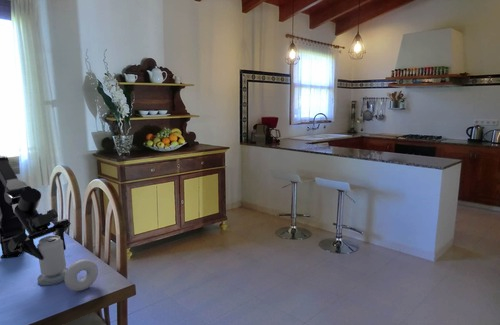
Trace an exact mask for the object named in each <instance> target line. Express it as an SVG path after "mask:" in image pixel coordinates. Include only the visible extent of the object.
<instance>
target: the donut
mask: <svg viewBox="0 0 500 325" xmlns="http://www.w3.org/2000/svg"><path fill="white" fill-rule="evenodd" d="M67 268H68V270H67V271H66V274H65V279H64V283H65V286H66V287H67V288H68V289H69V290H71V291H73V292H81V291H85V290H87V289H88V288H90V287H91V286H93V284H94V283H95V282H96V281H97V279H98V278H97V277H98V275H99V268H98V266H97V264H96V263H95V261H93V260H91V259H86V258H85V259H80V260H77V261H75V262H74V263H72V264H71V265H70V266H69V267H67ZM82 271H85V272H86V275H85V277H83V278H82V279H78V277H77V276H78V274H79V273H80V272H82Z"/></svg>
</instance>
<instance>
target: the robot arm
mask: <svg viewBox="0 0 500 325" xmlns="http://www.w3.org/2000/svg"><path fill="white" fill-rule="evenodd" d="M9 161H10V160H9V158H8V156H5V155H0V247H1V253H2V254H1V255H0V258H1V259H3V258H18V257H20V256H21V255H22V254H23V253H25V254H29V255H31V256H32V257H34V258H36V259H38V260H39V259H40V260H43V256H42V254H41V253H40V251H39V250H38V249H37V245H36V244H35V240H36V239H38V238H41V237H42V238H43V237H45V236H48V235H49V234H51V233H52V234H53V235H57V236H60V239H61V240H63V247H64V251H66V249H67V247H66V242H65V234H64V233H65V232H66V231H68V228H69V227H70V226H71V224H72V223H71V222H70V220H69V219H67V218H62V219H61V220H55V219H57V218H58V217H59V214H58V212H57V210H56V209H54V208H52V209H50V210H47V211H46V213H45V214H43V213H39V211H38V210H37V208H38V206H39V204H40V200H41V199H42V198H41V197H42V193H41V191H39V190H38V189H36V188H34V187H31V185H28V184H27V183H26V182H25V181H22V180H20V179H19V178H18V176H17V174H16V173H15V171H14V169H13V168H12V166H11V164H10V162H9ZM14 205H15V207H14ZM13 207H14V208H13ZM55 221H56V222H55ZM52 222H54V224H53V226H51V224H52ZM27 234H28V235H27Z"/></svg>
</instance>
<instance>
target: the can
mask: <svg viewBox="0 0 500 325" xmlns="http://www.w3.org/2000/svg"><path fill="white" fill-rule="evenodd" d="M36 247H37V249H38V250H39V251H40V253H41V254H42V256H43V260H40V259H38V261H39V269H40V273H41V274H43V275H45V276H54V275H57V274H60V273H61V272H63V270H64V269H65V268H67V266H66V264H67V262H66V257H65V250H64V247H63V240H61V239H60V236H57V235H54V234H53V235H46V236H43V237H42V238H40V239H39V240H38V243H37V245H36ZM41 274H40V275H41Z"/></svg>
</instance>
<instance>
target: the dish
mask: <svg viewBox="0 0 500 325" xmlns="http://www.w3.org/2000/svg"><path fill="white" fill-rule="evenodd" d="M68 268H69V267H66V268H65V269H64V270H63V272H61V273H60V274H57V275H54V276H45V275H43V274H40V275H38V277H37V283H38V285H40V286H42V287H43V286H45V287H48V286H49V287H50V286H54V285H55V286H56V285H58V284H61V283H65V281H64V279H65V274H66V271H67V270H68Z"/></svg>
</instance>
